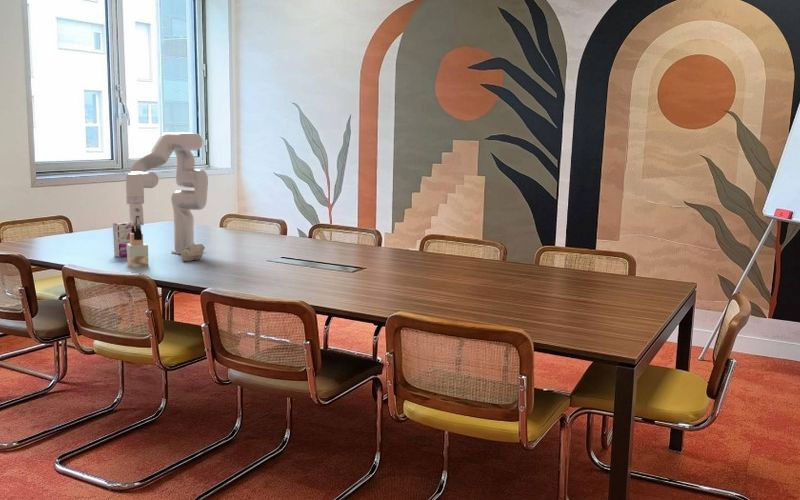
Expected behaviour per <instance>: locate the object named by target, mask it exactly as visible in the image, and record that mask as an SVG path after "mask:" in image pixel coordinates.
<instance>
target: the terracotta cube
mask: <svg viewBox="0 0 800 500" xmlns="http://www.w3.org/2000/svg"><path fill="white" fill-rule="evenodd" d="M143 243H144V234H143V233H142V240H134V233H130V244H131V245H143Z"/></svg>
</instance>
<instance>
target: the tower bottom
mask: <svg viewBox="0 0 800 500" xmlns="http://www.w3.org/2000/svg"><path fill="white" fill-rule="evenodd" d="M126 259H127V262H126V264H127V265H128V267H129V268H131V269H132V268H142V266H147V267H149V255H148V256H138V257H130V256H128V255H127V256H126Z"/></svg>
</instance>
